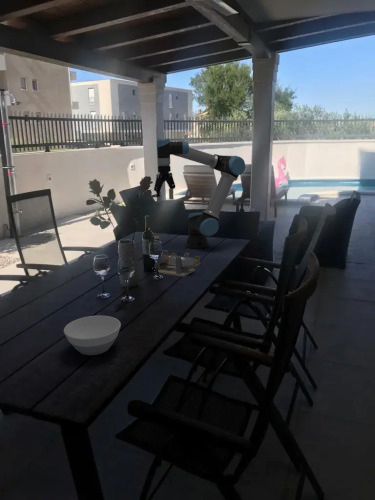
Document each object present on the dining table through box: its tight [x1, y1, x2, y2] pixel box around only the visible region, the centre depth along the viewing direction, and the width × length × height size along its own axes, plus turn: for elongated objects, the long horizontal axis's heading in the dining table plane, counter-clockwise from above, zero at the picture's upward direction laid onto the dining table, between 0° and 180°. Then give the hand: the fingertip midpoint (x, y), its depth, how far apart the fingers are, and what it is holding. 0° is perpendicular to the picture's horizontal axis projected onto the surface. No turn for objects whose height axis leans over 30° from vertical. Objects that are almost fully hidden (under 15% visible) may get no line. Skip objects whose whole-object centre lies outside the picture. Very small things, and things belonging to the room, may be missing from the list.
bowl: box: [63, 315, 122, 356], centre depth 151 cm, size 19×19×8 cm
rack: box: [170, 252, 201, 268], centre depth 251 cm, size 19×9×4 cm, turn 60°
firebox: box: [153, 249, 196, 278], centre depth 238 cm, size 22×12×10 cm, turn 60°
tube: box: [159, 253, 195, 269], centre depth 236 cm, size 22×6×6 cm, turn 60°
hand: (165, 200), depth 262 cm, fingers open, 13 cm apart
